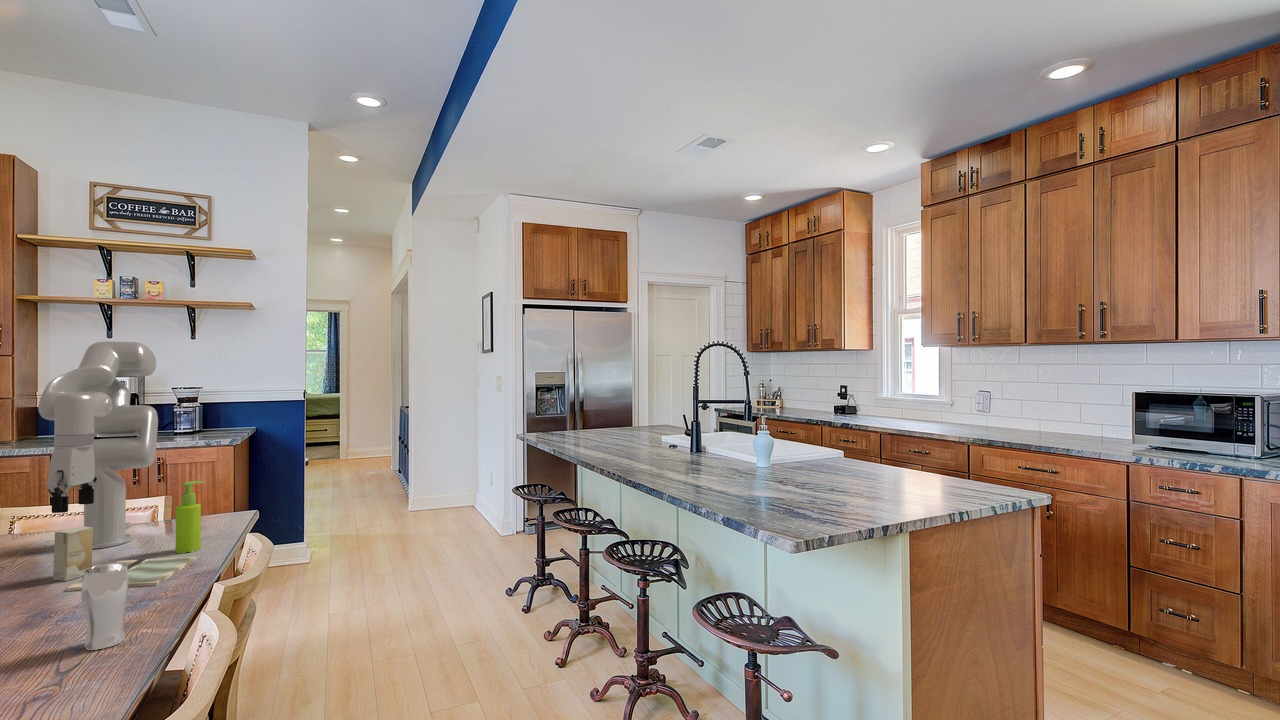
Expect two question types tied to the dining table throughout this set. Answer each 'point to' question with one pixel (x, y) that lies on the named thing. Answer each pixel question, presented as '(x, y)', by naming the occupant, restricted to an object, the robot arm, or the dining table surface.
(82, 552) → the skincare box
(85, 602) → the beer glass
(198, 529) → the soap dispenser
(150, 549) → the dining table surface
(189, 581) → the dining table surface
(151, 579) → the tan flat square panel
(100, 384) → the robot arm
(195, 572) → the dining table surface
